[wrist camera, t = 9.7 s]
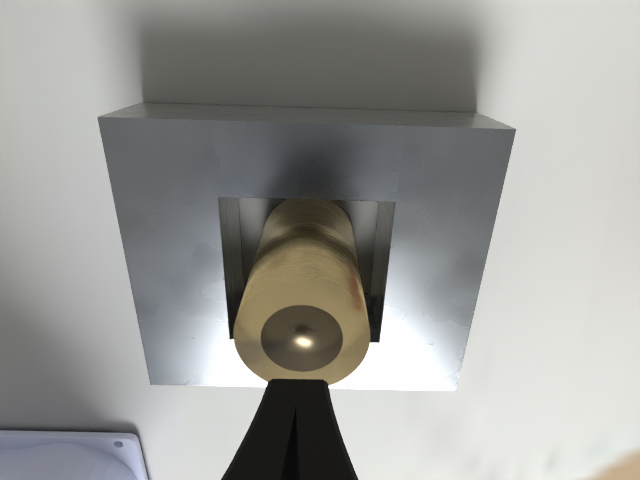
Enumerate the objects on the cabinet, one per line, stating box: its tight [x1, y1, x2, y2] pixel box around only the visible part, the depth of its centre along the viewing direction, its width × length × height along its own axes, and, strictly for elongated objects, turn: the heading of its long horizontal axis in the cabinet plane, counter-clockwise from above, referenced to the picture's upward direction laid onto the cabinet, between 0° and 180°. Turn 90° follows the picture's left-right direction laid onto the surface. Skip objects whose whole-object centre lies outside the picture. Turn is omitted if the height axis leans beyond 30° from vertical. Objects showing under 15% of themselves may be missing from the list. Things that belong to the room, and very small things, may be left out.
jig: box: [98, 103, 516, 391], centre depth 17 cm, size 13×11×4 cm
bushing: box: [233, 199, 370, 386], centre depth 15 cm, size 4×4×7 cm
